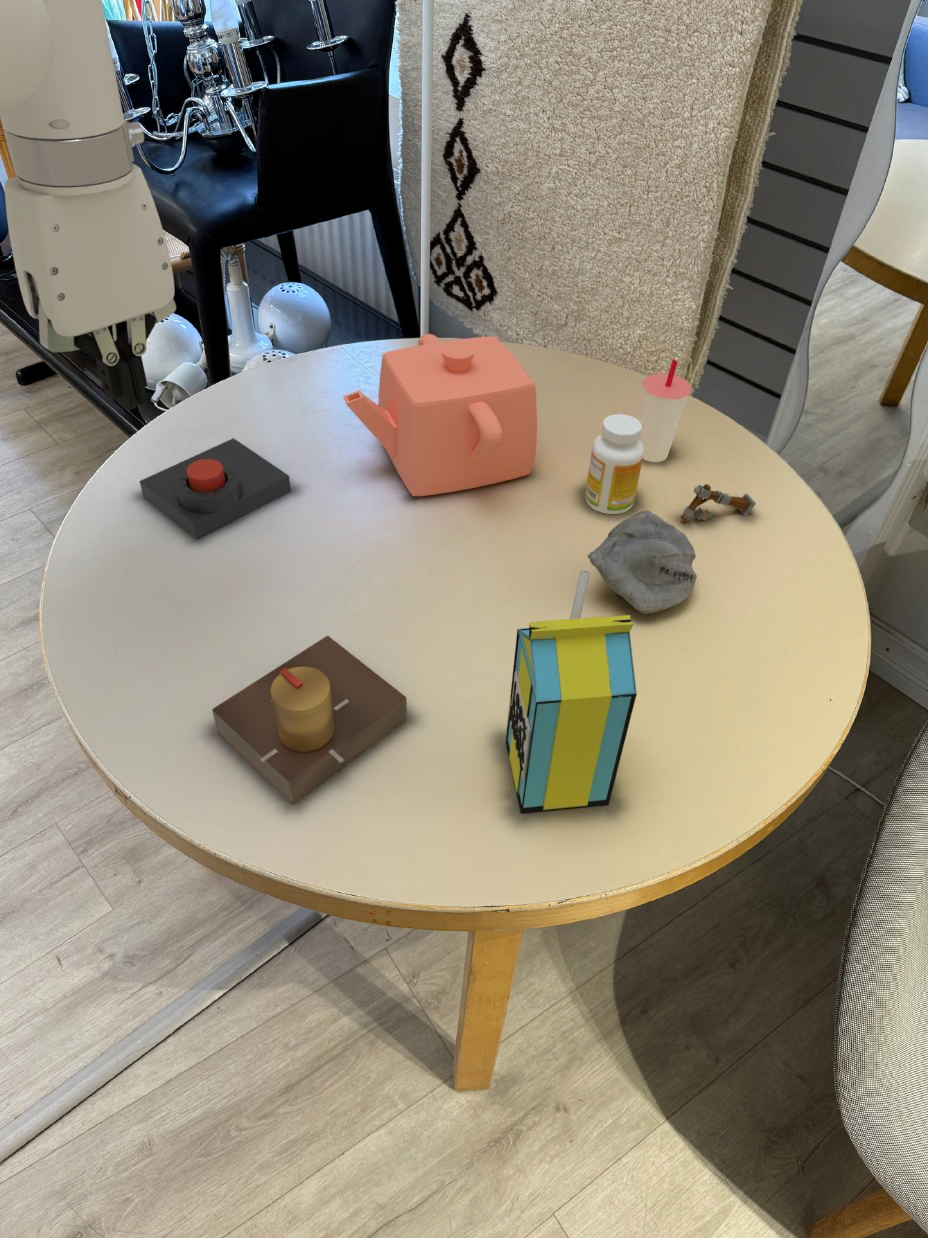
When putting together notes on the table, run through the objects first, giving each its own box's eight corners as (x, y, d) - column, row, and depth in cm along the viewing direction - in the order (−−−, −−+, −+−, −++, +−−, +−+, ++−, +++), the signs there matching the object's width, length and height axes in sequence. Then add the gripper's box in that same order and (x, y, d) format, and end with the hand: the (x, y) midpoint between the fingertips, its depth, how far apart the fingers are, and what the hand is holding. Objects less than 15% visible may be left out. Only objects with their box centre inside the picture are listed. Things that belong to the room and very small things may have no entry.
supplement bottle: (639, 494, 100) (655, 417, 93) (625, 521, 96) (640, 443, 90) (593, 481, 102) (605, 404, 95) (577, 507, 98) (589, 429, 91)
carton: (588, 727, 76) (622, 564, 63) (612, 805, 70) (653, 643, 58) (501, 735, 75) (517, 570, 63) (518, 814, 70) (540, 652, 57)
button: (202, 497, 91) (200, 483, 90) (182, 482, 93) (179, 468, 92) (232, 483, 93) (230, 469, 92) (212, 468, 95) (209, 454, 94)
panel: (301, 818, 69) (297, 794, 67) (214, 734, 74) (207, 709, 72) (418, 729, 75) (417, 704, 73) (330, 658, 81) (327, 633, 79)
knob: (346, 731, 71) (341, 686, 67) (300, 762, 69) (293, 717, 65) (311, 700, 73) (305, 654, 70) (266, 729, 71) (258, 683, 67)
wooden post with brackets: (671, 512, 96) (694, 477, 94) (724, 524, 100) (748, 492, 98) (679, 522, 95) (703, 487, 93) (732, 534, 99) (757, 501, 97)
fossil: (619, 640, 83) (633, 575, 78) (563, 583, 89) (572, 518, 83) (710, 601, 88) (730, 537, 82) (651, 549, 93) (666, 485, 88)
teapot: (481, 402, 113) (486, 294, 103) (554, 503, 98) (569, 389, 89) (325, 428, 107) (315, 317, 98) (378, 540, 93) (373, 422, 83)
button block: (198, 541, 92) (191, 510, 89) (143, 497, 97) (135, 466, 94) (292, 493, 98) (289, 462, 95) (236, 454, 103) (231, 423, 100)
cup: (684, 453, 106) (706, 360, 98) (659, 473, 103) (680, 378, 95) (646, 436, 108) (664, 343, 100) (620, 454, 106) (637, 360, 97)
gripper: (139, 122, 66) (181, 355, 79) (-67, 161, 58) (16, 415, 70) (199, 147, 63) (233, 386, 75) (-11, 193, 54) (66, 454, 67)
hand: (128, 400), depth 73 cm, fingers closed
